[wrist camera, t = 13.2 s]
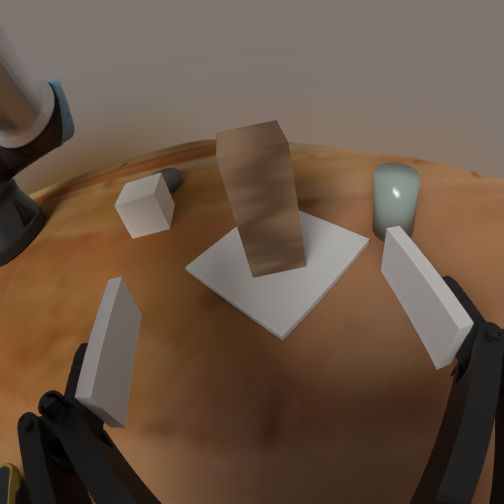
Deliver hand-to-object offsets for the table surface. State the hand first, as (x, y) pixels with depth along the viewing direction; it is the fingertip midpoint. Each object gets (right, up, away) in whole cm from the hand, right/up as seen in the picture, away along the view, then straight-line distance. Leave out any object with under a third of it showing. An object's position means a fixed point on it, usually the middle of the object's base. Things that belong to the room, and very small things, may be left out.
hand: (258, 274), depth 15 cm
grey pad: (+2, +1, +13) cm, 13 cm away
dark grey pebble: (-13, +10, +28) cm, 32 cm away
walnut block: (+2, +1, +12) cm, 13 cm away
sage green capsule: (+13, +3, +12) cm, 18 cm away
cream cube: (-12, +5, +22) cm, 26 cm away
